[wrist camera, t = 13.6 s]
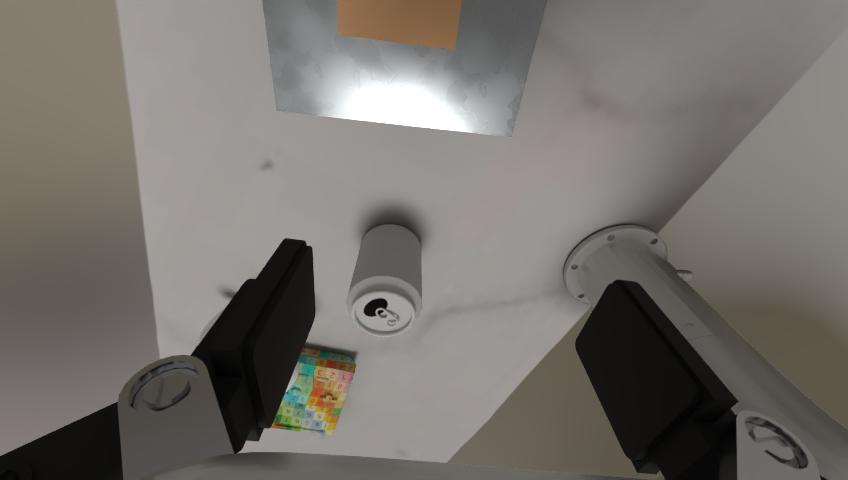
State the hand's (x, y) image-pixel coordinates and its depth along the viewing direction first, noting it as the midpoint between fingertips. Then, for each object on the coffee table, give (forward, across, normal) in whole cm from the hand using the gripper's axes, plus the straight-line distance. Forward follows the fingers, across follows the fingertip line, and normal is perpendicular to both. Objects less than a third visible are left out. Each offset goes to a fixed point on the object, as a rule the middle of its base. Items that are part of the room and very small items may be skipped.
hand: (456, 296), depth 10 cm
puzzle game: (+27, +14, +46) cm, 56 cm away
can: (+27, +3, +16) cm, 31 cm away
